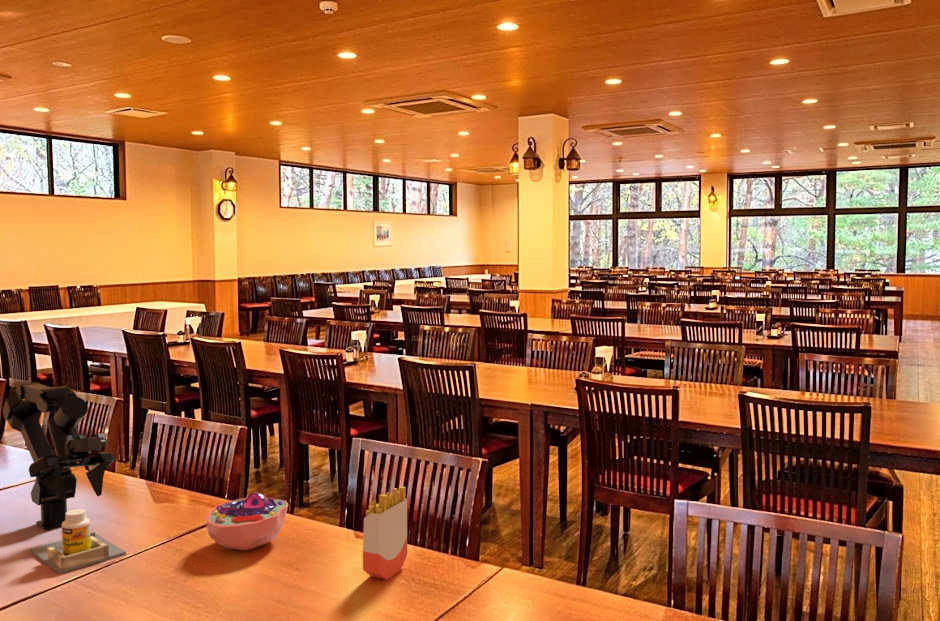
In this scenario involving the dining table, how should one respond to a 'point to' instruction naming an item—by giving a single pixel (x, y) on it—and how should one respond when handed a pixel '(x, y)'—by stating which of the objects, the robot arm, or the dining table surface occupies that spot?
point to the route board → (42, 553)
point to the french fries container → (385, 535)
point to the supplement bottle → (76, 532)
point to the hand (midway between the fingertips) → (82, 497)
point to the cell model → (246, 521)
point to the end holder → (79, 555)
